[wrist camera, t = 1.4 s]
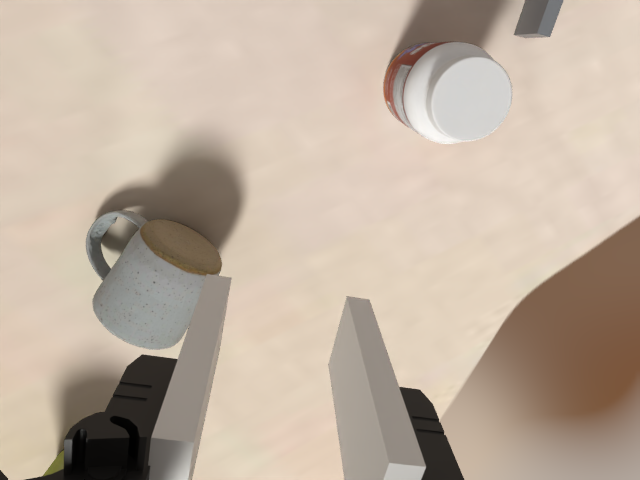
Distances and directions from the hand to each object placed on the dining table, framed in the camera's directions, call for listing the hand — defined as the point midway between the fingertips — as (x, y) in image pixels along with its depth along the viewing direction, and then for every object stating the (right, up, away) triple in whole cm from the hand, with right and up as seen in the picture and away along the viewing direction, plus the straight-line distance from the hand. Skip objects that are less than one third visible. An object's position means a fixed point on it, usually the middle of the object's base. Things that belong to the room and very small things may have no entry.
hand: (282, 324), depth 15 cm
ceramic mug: (-13, +1, +25) cm, 29 cm away
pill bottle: (+9, +15, +22) cm, 28 cm away
